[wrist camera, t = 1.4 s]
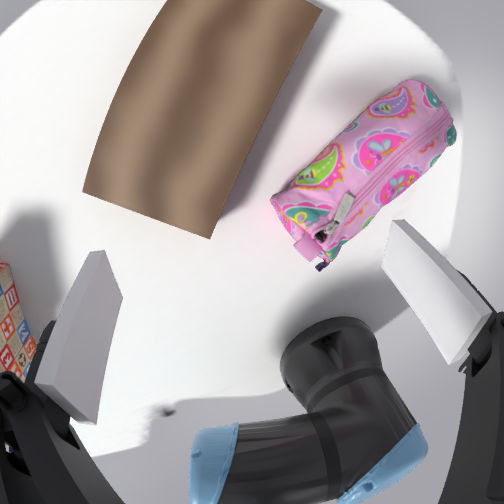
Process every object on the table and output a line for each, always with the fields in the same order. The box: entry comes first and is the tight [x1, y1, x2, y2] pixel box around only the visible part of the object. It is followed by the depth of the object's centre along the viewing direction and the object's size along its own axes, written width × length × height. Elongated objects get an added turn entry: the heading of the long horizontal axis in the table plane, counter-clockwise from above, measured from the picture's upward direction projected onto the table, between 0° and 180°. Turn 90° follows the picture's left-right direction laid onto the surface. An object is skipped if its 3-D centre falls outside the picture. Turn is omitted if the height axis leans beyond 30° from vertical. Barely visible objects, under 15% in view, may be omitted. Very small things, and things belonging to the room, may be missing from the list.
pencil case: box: [270, 80, 456, 272], centre depth 24 cm, size 21×9×9 cm, turn 132°
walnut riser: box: [82, 0, 322, 239], centre depth 21 cm, size 13×25×4 cm, turn 155°
